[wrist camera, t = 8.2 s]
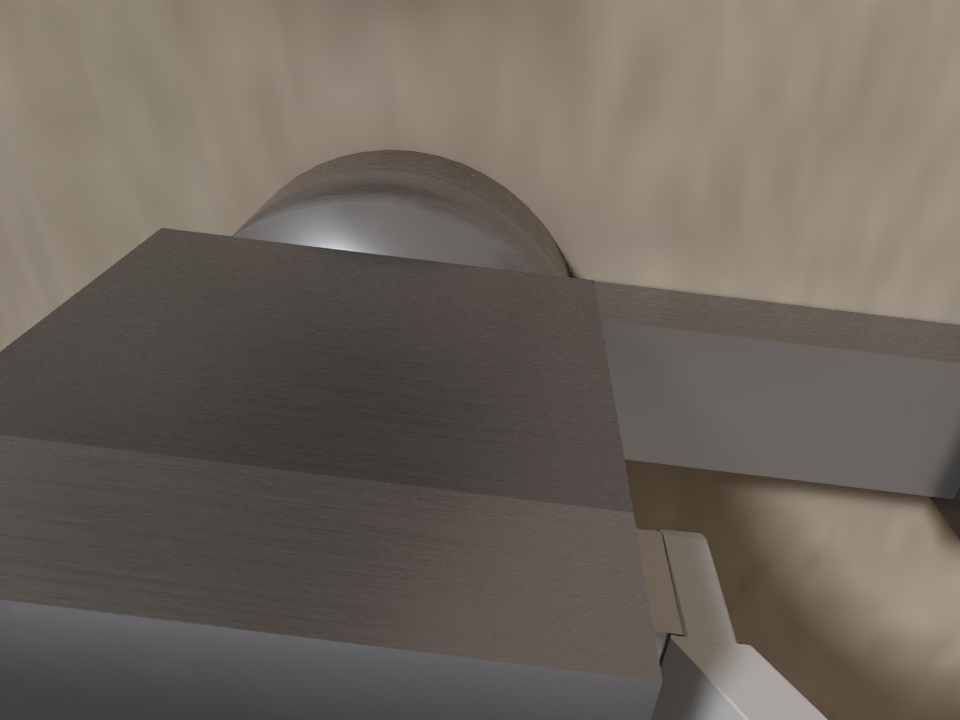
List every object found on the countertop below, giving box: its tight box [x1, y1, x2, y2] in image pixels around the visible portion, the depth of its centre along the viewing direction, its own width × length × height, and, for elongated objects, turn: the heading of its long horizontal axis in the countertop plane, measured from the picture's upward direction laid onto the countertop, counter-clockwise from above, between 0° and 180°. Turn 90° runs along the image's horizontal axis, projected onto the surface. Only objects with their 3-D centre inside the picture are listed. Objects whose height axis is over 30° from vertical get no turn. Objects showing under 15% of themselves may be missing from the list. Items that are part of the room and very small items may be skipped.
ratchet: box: [231, 150, 960, 538], centre depth 11 cm, size 22×6×7 cm, turn 84°
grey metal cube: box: [0, 228, 663, 720], centre depth 8 cm, size 6×6×6 cm
